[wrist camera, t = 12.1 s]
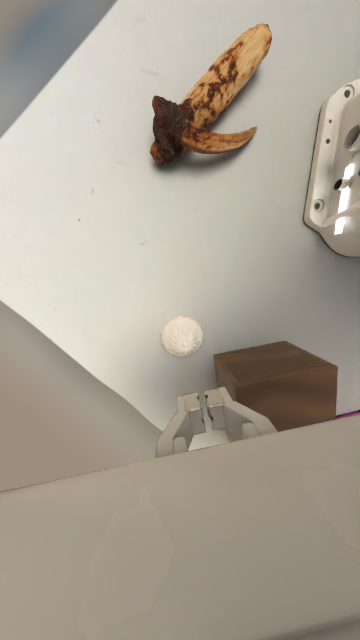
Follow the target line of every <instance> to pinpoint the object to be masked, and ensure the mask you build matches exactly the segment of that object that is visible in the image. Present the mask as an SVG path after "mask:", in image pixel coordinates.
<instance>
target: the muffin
mask: <svg viewBox="0 0 360 640" xmlns="http://www.w3.org/2000/svg"><path fill="white" fill-rule="evenodd" d="M161 340H162V343H163V346H164V347H165V349H166V350H167V351H168V352H169V353H170V354H172V355H174V356H177V357H186V356H189V355H192V354H193V353H195V352H196V351H197V350H198V349H199V348H200V346H201V344H202V342H203V332H202V329H201V327H200V325H199V324H198V323H197V322H196V321H195V320H194V319H192V318H189V317H184V316H181V317H176V318H173V319H172V320H170V321H169V322H168V323H167V324H166V325H165V327H164V328H163V330H162V334H161Z"/></svg>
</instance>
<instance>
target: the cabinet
mask: <svg viewBox="0 0 360 640" xmlns="http://www.w3.org/2000/svg"><path fill="white" fill-rule="evenodd" d="M214 361H215V368H216V376H217V383H218V388H220V387H225V388H226V389H227V391H228V393H229V395H230V397H231V398H232V400H233V402H234V401H236V402H238V403H240V404H242V405H244V406H246V407H248V408H249V409H251V410H253V411H255V412H257V413H259V414H261V415H263V416H265V417H267V418H268V419H269V420H270V422H271V423H272V424H273V426H274V427H275V428H276V430H277V431H278V432H280V431H285V430H289V429H294V428H299V427H303V426H308V425H312V424H317V423H322V422H326V421H331V420H336V395H337V370H338V367H337V366H335V365H333V364H331V363H329V362H327V361H325V360H323V359H321V358H319V357H317V356H315V355H313V354H311V353H309V352H307V351H305V350H303V349H301V348H299V347H297V346H295V345H293V344H290V343H288V342H286V341H282V342H277V343H272V344H267V345H261V346H256V347H251V348H246V349H241V350H236V351H231V352H226V353H220V354H215V355H214ZM225 431H226V433H227V436H228V438H229V441H230V442H234V441H238V439H237V438H236V437H235V436H234V435H233V434H232V433H230V432H229V431H228V430H227V429H226V428H225Z"/></svg>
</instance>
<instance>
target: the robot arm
mask: <svg viewBox="0 0 360 640" xmlns="http://www.w3.org/2000/svg"><path fill="white" fill-rule="evenodd" d="M315 206H316V209H315ZM304 221H305V223H306V224H307V225H308V226H309V227H311V228H313V229H314V230H316V231H318V232H319V233H320V234H321V235H322V237H323V238H324V240H325V242H326V243H327V244H328V245H329V246H330V247H331V248H332V249H333V250H334V251H336V252H337V253H339V254H342V255H345V256H350V257H358V256H360V79H357V80H354V81H352V82H350V83H348V84H346V85H344V86H343V87H341V88H340V89H339V90H337V91H336V92H335V93H334V94H333V95H332V96H331V97H330V98H329V99H328V100H327V101H326V102H325V103H324V104H323V106H322V108H321V112H320V118H319V125H318V131H317V137H316V143H315V150H314V156H313V162H312V169H311V175H310V181H309V187H308V194H307V200H306V206H305V213H304ZM204 397H205V400H206V402H205V403H206V408H207V412H208V416H209V417H210V422H211V425H212V429H213V431H214V430H220V429H225V428H226V429H227V430H228V431H229V432H230V433H232V434H233V435H234V436H235V437H236V438H237V439H238V441H234V442H229V443H224V444H220V445H215V446H211V447H206V448H201V449H197V450H192V451H188V449H189V446H190V443H191V441H192V438H193V435H197V434H201V433H205V432H206V430H205V423H204V420H203V412H202V407H201V403H200V400H199V396H198V393H191V394H186V395H180V396H177V397H176V400H177V413H176V414H175V415H174V417H173V418H172V419H171V421H170V422H169V424H168V425H167V427H166V428H165V430H164V431H163V433H162V434H161V436H160V437H159V439H158V440H157V446H156V458H155V459H150V460H146V461H141V462H136V463H132V464H127V465H122V466H118V467H113V468H109V469H104V470H99V471H94V472H90V473H85V474H81V475H76V476H71V477H67V478H62V479H57V480H53V481H48V482H44V483H39V484H34V485H29V486H25V487H20V488H16V489H11V490H6V491H1V492H0V640H360V414H359V415H354V416H350V417H345V418H340V419H336V420H331V421H326V422H322V423H317V424H312V425H308V426H303V427H299V428H294V429H289V430H285V431H280V432H278V431H277V430H276V428H275V427H274V426H273V424H272V423H271V422H270V420H269V419H268V418H267V417H265V416H263V415H261V414H259V413H257V412H255V411H253V410H251V409H249V408H248V407H246V406H244V405H242V404H240V403H238V402H236V401H234V402H233V400H232V398H231V397H230V395H229V393H228V391H227V389H226V388H225V387H220V388H217V389H212V390H207V391H204Z"/></svg>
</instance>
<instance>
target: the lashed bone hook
mask: <svg viewBox="0 0 360 640" xmlns="http://www.w3.org/2000/svg"><path fill="white" fill-rule="evenodd" d="M271 40H272V34H271V31H270V29H269V26H268V24H267V25H266V24H258V25H256V26H255V27H253V28H250V29H249V30H247V31H246V32H244V33H243V34H242V35H241V36H240V37H239V38H238V39H236V41H235V42H234V43H233V44H232V45H231V46H230V47H229V48H228V49H227V50H226V51H225V52H224V53H223V54H222V55H221V56H220V57H219V58H218V59H217V60H216V62H215V63H214V64H213V65H212V66H211V67H210V68H209V70H208V72H207V73H206V74H205V75H204V76H203V77H202V78H201V79H200V80H199V81H198V82H197V83H196V84H195V86H194V88H193V89H192V90H191V91H190V92H189V94H188V95H187V96H186V98H185V99H184V100H183V101H182V102H181V103H180V104H179V105H177V104H176V103H172V102H171V101H167V100H166V99H164V98H163V97H159V96H154V98H153V101H152V106H153V109H154V113H155V116H154V119H153V133H154V136H155V141H154V143H153V145H152V146H151V150H150V153H151V155H152V157H153V159H154V160H155V161H156V162H157V163H158V165H159V166H163V165H165V164H166V163H167V164H168V163H170V162H173V161H174V160H175V159H176V158H179V157H180V156H181V154H182V153H183V151H184V149H185V148H187V149H189V150H192V151H194V152H198V153H202V154H220V153H225V152H230V151H233V150H236V149H238V148H240V147H242V146H243V145H245V144H246V143H247V142H248V141H249V140H250V139H251V137H252V136H253V135H254V133H255V132H256V129H257V127H253V128H251V129H249V130H247V131H244V132H240V133H234V134H218V133H213V132H211V131H210V130H206V128H207V127H208V126H209V125H210V124H211V123H212V122H214V121H215V120H216V119H217V118H218V117H219V115H220V114H222V113H223V112H224V111H225V110H226V108H227V107H228V106H229V104H230V103H231V101H232V99H233V98H234V97H235V96H236V94H237V93H238V92H239V91H240V90H241V89H242V88H243V87H244V85H245V84H246V83H247V82H248V81H249V78H250V77H251V76H252V75H253V73H254V72H255V71H256V69H257V68H258V66H259V65H260V63H261V61H262V60H263V59H264V57H265V56H266V55H267V53H268V51H269V48H270V45H271Z"/></svg>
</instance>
